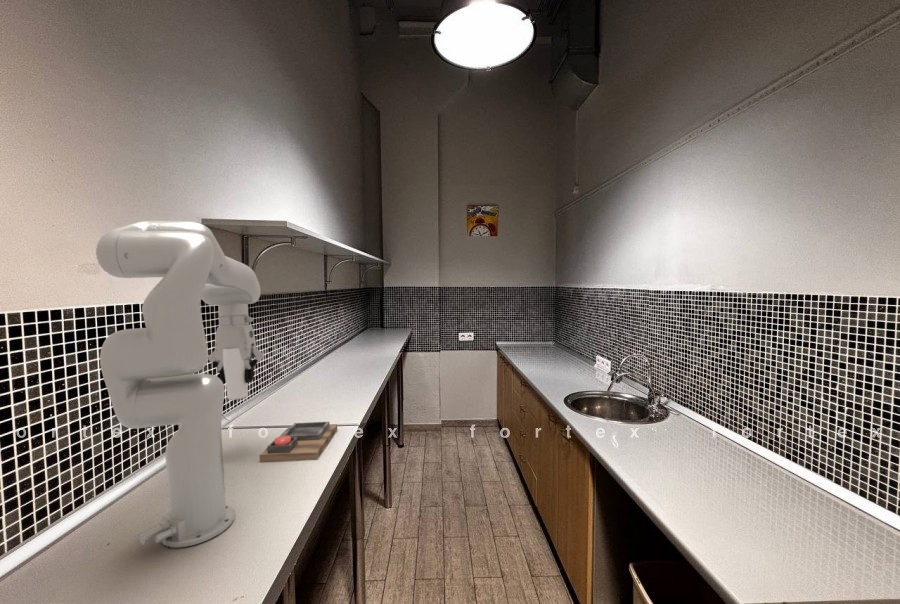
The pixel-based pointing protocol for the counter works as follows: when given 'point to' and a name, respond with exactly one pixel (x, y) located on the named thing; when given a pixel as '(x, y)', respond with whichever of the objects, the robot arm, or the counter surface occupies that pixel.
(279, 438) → the button
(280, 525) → the counter surface
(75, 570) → the counter surface
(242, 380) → the drinking glass
